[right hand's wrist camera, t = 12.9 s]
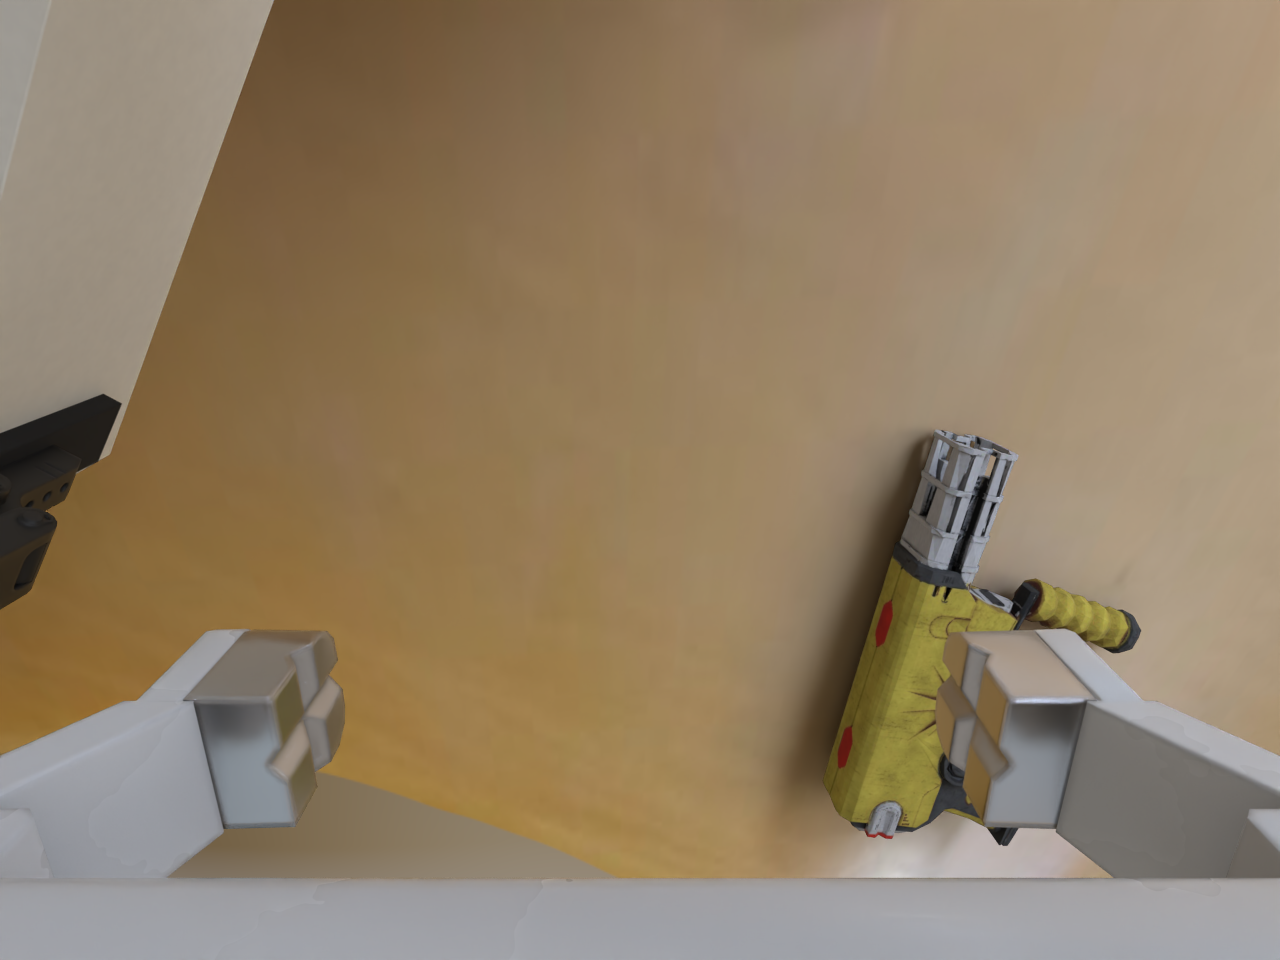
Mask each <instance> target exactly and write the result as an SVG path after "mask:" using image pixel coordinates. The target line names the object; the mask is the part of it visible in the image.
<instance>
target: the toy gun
mask: <svg viewBox="0 0 1280 960" xmlns="http://www.w3.org/2000/svg"><path fill="white" fill-rule="evenodd" d="M933 436H934V441H933V444H932V447H931V450H930V453H929V456H928V459H927V462H926V465H925V468H924V470H922V472H921V476H922V478H921V481H920V484H919V488H918V491H917V494H916V497H915V500H914V503H913V506H912V508H911V509H910V511H909V515H910V516H909V519H908V521H907V524H906V527H905V529H904V532H903V534H902V537H901V540H900V541H899V542H897V543H896V544H895V548H894V551H893V555H892V558H891V562H890V565H889V568H888V571H887V575H886V578H885V581H884V584H883V587H882V591H881V594H880V597H879V600H878V604H877V607H876V610H875V613H874V616H873V620H872V623H871V626H870V629H869V633H868V636H867V639H866V642H865V646H864V649H863V652H862V655H861V658H860V662H859V665H858V668H857V671H856V675H855V678H854V681H853V684H852V687H851V691H850V694H849V697H848V700H847V704H846V707H845V710H844V713H843V717H842V720H841V723H840V726H839V729H838V733H837V736H836V739H835V742H834V746H833V749H832V752H831V755H830V758H829V762H828V765H827V768H826V771H825V775H824V778H823V783H824V785H825V787H826V789H827V791H828V793H829V795H830V797H831V799H832V802H833V804H834V807H835V809H836V811H837V812H838V813H839V815H840V816H842V817H843V818H845V819H847V820H848V821H850V822H851V824H852V825H853V826H854V827H856V828H857V829H858V830H859V831H865V833H866V835H867V837H873V838H875V837H876V836H877V835H880V836H882V837H884V838H886V839H892V838H893V835H894V833H902V832H913V831H915V830H917V829H919V828H921V827H923V826H925V825H927V824H929V823H931V822H932V821H933V820H934V819H935V818H936V817H937V816H938V815H939V814H940V813H941V812H943V811H947V812H950V813H953V814H957V815H960V816H963V817H966V818H969V819H971V820H973V821H975V822H976V823H978V824H980V825H982V826H984V824H983V823H982V821H981V819H980V817H979V815H978V814H977V812H976V810H975V808H974V806H973V805H972V803H971V801H970V799H969V797H968V796H967V794H966V792H965V790H964V788H963V781H964V775H965V772H964V771H963V770H961V769H960V768H958V767H957V766H955V765H953V764H952V763H950V762H949V761H948V759H947V757H946V755H945V753H944V751H943V749H942V747H941V744H940V741H939V737H938V734H937V729H936V718H935V705H936V697H937V689H938V688H939V687H940V686H941V685H942V684H943V683H944V682H945V681H946V680H947V679H948V678H949V677H950V676H951V674H950V672H949V670H948V669H947V667H946V666H945V664H944V662H943V661H942V658H943V652H944V646H945V642H946V640H947V638H948V636H949V634H950V632H973V631H1013V630H1018V629H1019V627H1020V625H1021V624H1022V622H1023V620H1024V619H1026V620H1028V621H1031V622H1036V621H1039V623H1040V624H1041V625H1043V626H1045V627H1048V628H1050V629H1055V628H1056V629H1067V630H1070V631H1072V632H1075V633H1076V634H1077V635H1078V636H1079V637H1080V638H1081V639H1082V640H1084V641H1090V642H1091V643H1093V644H1095V645H1097V646H1099V647H1102V648H1104V649H1106V650H1108V651H1110V652H1112V653H1120V652H1124V651H1127V650H1130V649H1132V648H1133V646H1134V645H1135V643H1136V641H1137V640H1138V638H1139V635H1140V632H1141V629H1140V628H1139V626H1138V624H1137V622H1136V620H1135V618H1134V617H1133V615H1131V614H1129V613H1128V612H1126V611H1124V610H1116V609H1114V608H1111V607H1105V608H1104V607H1103V606H1101V605H1100V604H1098V603H1097V602H1095V601H1087V600H1086V599H1085V598H1084V597H1082V596H1079V595H1073V594H1070V593H1068V592H1067V591H1065V590H1063V589H1061V588H1059V587H1057V588H1053V587H1052V586H1051V585H1049V584H1047V583H1044V582H1042V581H1040V580H1038V579H1031V580H1025V581H1024V582H1023V583H1022V584H1021V586H1020V587H1019V588H1018V589H1017V591H1016V592H1015V594H1014V598H1013V600H1012V601H1011V600H1009V599H1007V598H1005V597H1002V596H1000V595H998V594H995V593H993V592H991V591H988V590H984V589H980V588H977V587H974V586H971V585H972V582H973V579H974V577H975V574H976V573H977V572H978V569H979V565H978V563H979V560H980V558H981V555H982V553H983V550H984V548H985V545H986V543H987V542H988V541H989V538H990V536H989V533H990V530H991V528H992V525H993V522H994V519H995V516H996V514H997V511H998V508H999V505H1000V502H1002V500H1003V497H1004V496H1003V495H1002V493H1003V490H1004V488H1005V485H1006V482H1007V480H1008V477H1009V475H1010V472H1011V470H1012V467H1013V464H1014V462H1015V461H1017V459H1018V455H1017V454H1016V453H1014V452H1012V451H1010V450H1008V449H1006V448H1004V447H1002V446H1000V445H998V444H996V443H994V442H992V441H990V440H988V439H985V438H982V437H978V436H973V435H966V434H965V435H964V437H963V436H958V435H956V434H954V433H952V432H949V431H942V430H935V432H934V435H933ZM952 439H953V440H955V441H960V442H962V443H958V442H955V441H953V440H952ZM971 441H974V442H975V445H974V448H972V447H970V442H971ZM950 446H951V447H953V450H952V453H951V456H950V459H949V461H947V460H946V456H947V453H948V450H949V447H950ZM993 448H994V449H996V450H997V451H995V450H992V449H993ZM998 451H999V452H998ZM990 455H993V456H995V457H996V460H995V463H994V466H993V469H992V472H991V475H990V477H989V476H984V474H985V471H986V468H987V465H988V462H989V459H990ZM984 827H985V826H984ZM986 828H987V829H988V830H989V831H990V833H991V834H992V836H993V837H994V839H995V840H996V841H997V843H998V844H999V845H1001V844H1002V845H1003V846H1007V845H1008V844H1009V843H1010V841H1011V840H1012V838H1013V836H1014V835H1015V833H1016V831H1017V830H1018V828H1007V827H986Z"/></svg>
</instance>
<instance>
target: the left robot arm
mask: <svg viewBox="0 0 1280 960" xmlns="http://www.w3.org/2000/svg"><path fill="white" fill-rule="evenodd" d="M121 405H122V403H120V402H118V401H116V400H115V399H113V398H111V397H109V396H107V395H105V394H101V395H98V396H96V397H93V398H91V399H88V400H85V401H83V402H80V403H78V404H75V405H72V406H70V407H67V408H65V409H62V410H59V411H57V412H54V413H51V414H49V415H46V416H44V417H41V418H38V419H36V420H33V421H31V422H28V423H25V424H23V425H20V426H17V427H15V428H12V429H10V430H7V431H4V432H2V433H0V609H2V608H4V607H5V606H7V605H9V604H10V603H12V602H14V601H15V600H17V599H19V598H20V597H22V596H24V595H25V594H27V593H28V592H29V591H30V590H31V588H32V586H33V583H34V581H35V578H36V576H37V574H38V571H39V569H40V566H41V564H42V561H43V559H44V556H45V554H46V551H47V549H48V546H49V544H50V541H51V539H52V536H53V534H54V532H55V529H56V526H57V521H56V519H55V518H54V517H53V516H52V515H51V514H49V513H48V512H45V511H46V510H47V509H49V508H51V507H52V506H55V505H57V504H58V503H60V502H62V501H64V500H65V498H66V496H67V494H68V492H69V490H70V487H71V485H72V482H73V480H74V477H75V475H76V472H78V471H80V470H82V469H84V468H86V467H88V466H90V465H92V464H94V463H96V462H98V461H99V459H100V456H101V454H102V451H103V449H104V446H105V444H106V442H107V439H108V437H109V434H110V432H111V429H112V427H113V425H114V422H115V420H116V417H117V415H118V412H119V410H120V408H121Z"/></svg>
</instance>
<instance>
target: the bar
mask: <svg viewBox="0 0 1280 960" xmlns="http://www.w3.org/2000/svg"><path fill="white" fill-rule="evenodd" d="M273 1H274V0H0V433H2V432H4V431H7V430H10V429H12V428H15V427H17V426H20V425H23V424H25V423H28V422H31V421H33V420H36V419H38V418H41V417H44V416H46V415H49V414H51V413H54V412H57V411H59V410H62V409H65V408H67V407H70V406H72V405H75V404H78V403H80V402H83V401H85V400H88V399H91V398H93V397H96V396H98V395H101V394H105V395H107V396H109V397H111V398H113V399H115V400H116V401H118V402H120V403H122V405H121V408H120V410H119V412H118V415H117V417H116V420H115V422H114V425H113V427H112V429H111V432H110V434H109V437H108V439H107V442H106V444H105V446H104V449H103V451H102V454H101V456H100V459H99V460H101V459H103V458H105V457H106V456H108V455H110V453H111V450H112V448H113V445H114V442H115V439H116V436H117V434H118V431H119V428H120V425H121V423H122V420H123V417H124V414H125V412H126V409H127V406H128V403H129V400H130V398H131V395H132V392H133V389H134V387H135V384H136V381H137V378H138V375H139V373H140V370H141V367H142V364H143V362H144V359H145V356H146V353H147V351H148V348H149V345H150V342H151V339H152V337H153V334H154V331H155V328H156V326H157V323H158V320H159V317H160V315H161V312H162V309H163V306H164V303H165V301H166V298H167V295H168V292H169V290H170V287H171V284H172V281H173V278H174V276H175V273H176V270H177V267H178V265H179V262H180V259H181V256H182V254H183V251H184V248H185V245H186V242H187V240H188V237H189V234H190V231H191V229H192V226H193V223H194V220H195V218H196V215H197V212H198V209H199V206H200V204H201V201H202V198H203V195H204V193H205V190H206V187H207V184H208V181H209V179H210V176H211V173H212V170H213V168H214V165H215V162H216V159H217V157H218V154H219V151H220V148H221V145H222V143H223V140H224V137H225V134H226V132H227V129H228V126H229V123H230V121H231V118H232V115H233V112H234V109H235V107H236V104H237V101H238V98H239V96H240V93H241V90H242V87H243V85H244V82H245V79H246V76H247V73H248V71H249V68H250V65H251V62H252V60H253V57H254V54H255V51H256V48H257V46H258V43H259V40H260V37H261V35H262V32H263V29H264V26H265V24H266V21H267V18H268V15H269V12H270V10H271V7H272V4H273ZM92 465H93V464H92ZM90 466H91V465H90ZM88 467H89V466H88ZM86 468H87V467H86ZM86 468H84V469H86ZM84 469H82V470H84ZM82 470H80V471H82ZM80 471H78V472H76V474H77V473H79V472H80Z"/></svg>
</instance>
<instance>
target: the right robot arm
mask: <svg viewBox="0 0 1280 960" xmlns="http://www.w3.org/2000/svg"><path fill="white" fill-rule="evenodd" d="M337 661H338V658H337V653H336V648H335V643H334V638H333V637H332V636H331V635H330V634H329V633H328V632H327V631H301V630H249V629H220V630H211V631H206V632H205V633H204V634H203V635H202V636H201V637H200V638H199V639H198V640H197V641H196V642H195V643H194V644H193V645H192V646H191V647H190V648H189V649H188V650H187V651H186V652H185V653H184V654H183V655H182V656H181V657H180V658H179V659H178V660H177V661H176V662H175V663H174V664H173V665H172V666H171V667H170V668H169V669H168V670H167V671H166V672H165V673H164V674H163V675H162V676H161V677H160V678H159V679H158V680H157V681H156V682H155V683H154V684H153V685H152V686H151V687H150V688H149V689H148V690H147V691H146V692H145V693H144V694H143V695H142V696H141V697H140V698H139V699H138V700H137V701H123V702H120V703H118V704H116V705H114V706H111V707H109V708H107V709H105V710H102V711H100V712H98V713H96V714H93V715H91V716H89V717H87V718H84V719H82V720H80V721H78V722H75V723H73V724H71V725H69V726H66V727H64V728H62V729H60V730H57V731H55V732H53V733H51V734H48V735H46V736H44V737H41V738H39V739H37V740H35V741H32V742H30V743H28V744H26V745H23V746H21V747H19V748H17V749H14V750H12V751H10V752H8V753H5V754H3V755H1V756H0V960H1280V756H1279V755H1276V754H1274V753H1272V752H1270V751H1268V750H1265V749H1263V748H1261V747H1259V746H1256V745H1254V744H1252V743H1250V742H1247V741H1245V740H1243V739H1241V738H1238V737H1236V736H1234V735H1232V734H1229V733H1227V732H1225V731H1223V730H1220V729H1218V728H1216V727H1214V726H1211V725H1209V724H1207V723H1205V722H1202V721H1200V720H1198V719H1196V718H1193V717H1191V716H1189V715H1187V714H1184V713H1182V712H1180V711H1178V710H1175V709H1173V708H1171V707H1169V706H1166V705H1164V704H1162V703H1160V702H1157V701H1143V700H1142V699H1141V698H1140V697H1139V696H1138V695H1137V694H1136V693H1135V692H1134V691H1133V690H1132V689H1131V688H1130V687H1129V686H1128V685H1127V684H1126V683H1125V682H1124V681H1123V680H1122V679H1121V678H1120V677H1119V676H1118V675H1117V674H1116V673H1115V672H1114V671H1113V670H1112V669H1111V668H1110V667H1109V666H1108V665H1107V664H1106V663H1105V662H1104V661H1103V660H1102V659H1101V658H1100V657H1099V656H1098V655H1097V654H1096V653H1095V652H1094V651H1093V650H1092V649H1091V648H1090V647H1089V646H1088V645H1087V644H1086V643H1085V642H1084V641H1083V640H1082V639H1081V638H1080V637H1079V636H1078V635H1077V634H1076V633H1075V632H1072V631H1070V630H1067V629H1044V630H1013V631H973V632H950V634H949V636H948V638H947V640H946V642H945V646H944V652H943V658H942V661H943V662H944V664H945V666H946V667H947V669H948V670H949V672H950V674H951V676H950V677H949V678H948V679H947V680H946V681H945V682H944V683H943V684H942V685H941V686H940V687H939V688H938V689H937V697H936V705H935V718H936V729H937V734H938V737H939V741H940V744H941V747H942V749H943V751H944V753H945V755H946V757H947V759H948V761H949V762H950V763H952V764H953V765H955V766H957V767H958V768H960V769H961V770H963V771H964V772H965V775H964V781H963V788H964V790H965V792H966V794H967V796H968V797H969V799H970V801H971V803H972V805H973V806H974V808H975V810H976V812H977V814H978V815H979V817H980V819H981V821H982V823H983V824H984V826H985V827H1007V828H1043V829H1056V833H1058V834H1059V835H1060V836H1061V837H1063V838H1064V839H1065V840H1067V841H1068V842H1069V843H1070V844H1072V845H1073V846H1074V847H1075V848H1077V849H1078V850H1079V851H1081V852H1082V853H1083V854H1084V855H1086V856H1087V857H1088V858H1089V859H1091V860H1092V861H1093V862H1095V863H1096V864H1097V865H1098V866H1100V867H1101V868H1102V869H1103V870H1105V871H1106V872H1107V873H1109V874H1110V875H1111V876H1112V877H1114V878H167V877H168V876H169V875H170V874H172V873H173V872H174V871H175V870H177V869H178V868H179V867H181V866H182V865H183V864H184V863H186V862H187V861H188V860H190V859H191V858H192V857H193V856H195V855H196V854H197V853H198V852H200V851H201V850H202V849H204V848H205V847H206V846H207V845H209V844H210V843H211V842H212V841H214V840H215V839H216V838H218V837H219V836H220V835H221V834H223V833H224V829H235V828H271V827H295V826H296V825H297V823H298V821H299V819H300V817H301V816H302V814H303V812H304V810H305V808H306V807H307V805H308V803H309V801H310V799H311V797H312V796H313V794H314V792H315V790H316V788H317V781H316V775H315V772H316V771H317V770H319V769H320V768H322V767H323V766H325V765H327V764H328V763H330V762H331V761H332V759H333V757H334V755H335V753H336V751H337V749H338V747H339V745H340V741H341V736H342V732H343V728H344V724H345V703H344V696H343V689H342V688H341V687H340V686H339V685H338V684H337V683H336V682H335V681H334V680H333V679H332V678H331V677H330V676H329V674H330V672H331V670H332V669H333V667H334V666H335V664H336V662H337Z"/></svg>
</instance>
